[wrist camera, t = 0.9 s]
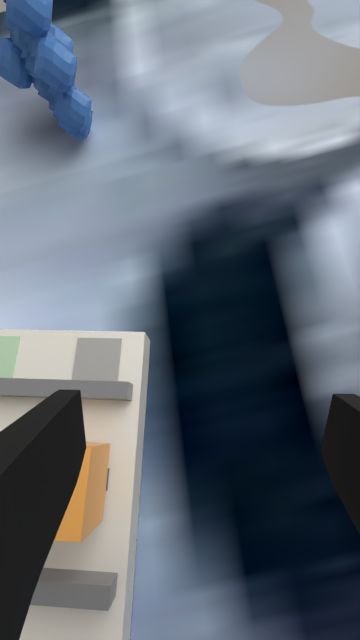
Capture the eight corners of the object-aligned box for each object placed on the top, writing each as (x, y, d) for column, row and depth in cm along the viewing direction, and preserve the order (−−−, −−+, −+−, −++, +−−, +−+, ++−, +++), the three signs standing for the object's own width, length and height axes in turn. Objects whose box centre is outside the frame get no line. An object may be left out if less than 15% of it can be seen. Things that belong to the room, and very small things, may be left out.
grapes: (14, 98, 33) (-83, -76, 21) (75, 74, 33) (11, -108, 22) (51, 177, 29) (-43, 19, 18) (118, 148, 30) (68, -22, 18)
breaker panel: (129, 649, 18) (110, 708, 14) (-103, 629, 19) (-178, 680, 15) (150, 341, 24) (141, 325, 20) (-30, 337, 25) (-71, 321, 21)
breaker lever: (102, 520, 18) (80, 542, 14) (49, 517, 18) (15, 538, 14) (110, 443, 19) (91, 446, 16) (61, 441, 19) (32, 444, 16)
